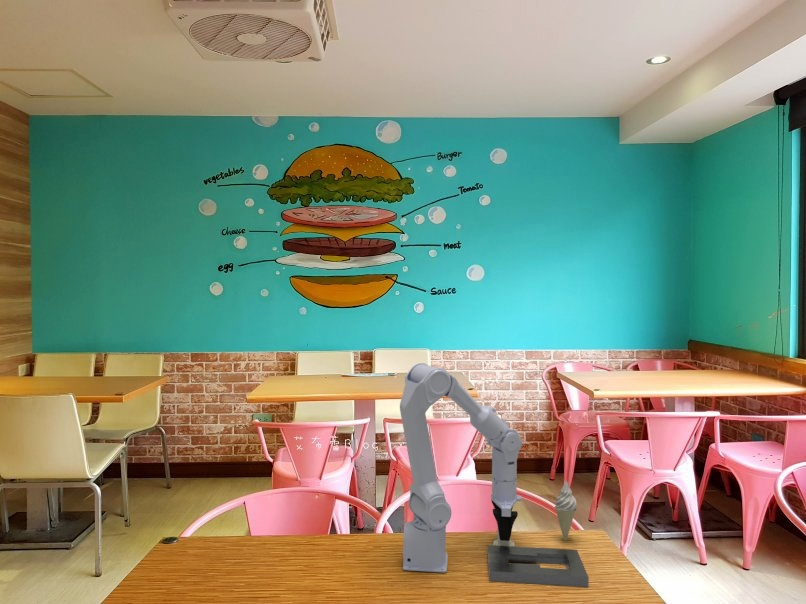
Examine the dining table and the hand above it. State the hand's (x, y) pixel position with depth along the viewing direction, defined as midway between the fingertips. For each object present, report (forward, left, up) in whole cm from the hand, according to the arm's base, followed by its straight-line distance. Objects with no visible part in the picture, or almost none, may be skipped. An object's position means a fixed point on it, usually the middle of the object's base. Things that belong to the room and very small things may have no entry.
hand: (503, 534), depth 131 cm
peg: (0, 0, -3) cm, 3 cm away
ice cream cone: (+15, +5, -3) cm, 16 cm away
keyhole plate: (+6, -10, -3) cm, 12 cm away
